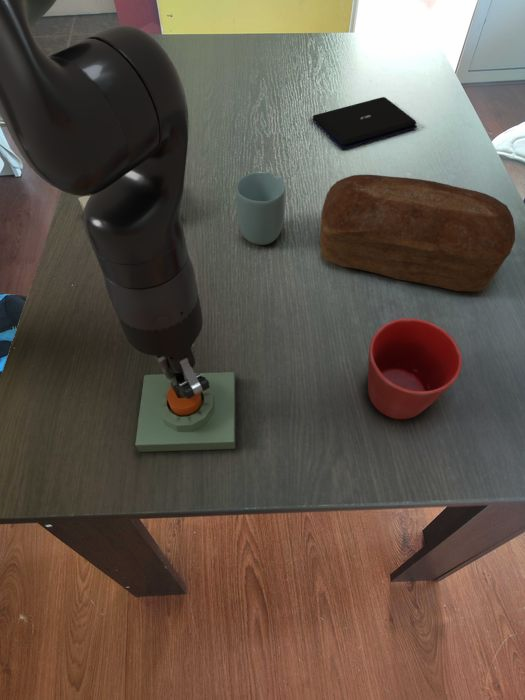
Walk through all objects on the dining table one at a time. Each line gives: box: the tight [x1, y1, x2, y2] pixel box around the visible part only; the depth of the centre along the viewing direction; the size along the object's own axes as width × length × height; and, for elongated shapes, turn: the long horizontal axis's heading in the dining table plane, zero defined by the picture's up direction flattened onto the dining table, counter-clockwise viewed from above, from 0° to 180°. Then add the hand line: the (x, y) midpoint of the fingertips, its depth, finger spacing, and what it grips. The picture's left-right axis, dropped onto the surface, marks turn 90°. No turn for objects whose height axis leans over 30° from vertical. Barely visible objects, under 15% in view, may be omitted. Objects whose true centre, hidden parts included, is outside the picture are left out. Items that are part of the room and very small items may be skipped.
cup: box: [235, 171, 287, 246], centre depth 76 cm, size 8×8×10 cm
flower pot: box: [367, 317, 463, 420], centre depth 58 cm, size 11×11×10 cm
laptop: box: [312, 96, 418, 150], centre depth 99 cm, size 16×20×2 cm
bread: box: [319, 174, 516, 292], centre depth 72 cm, size 14×28×12 cm, turn 73°
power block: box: [134, 371, 236, 453], centre depth 59 cm, size 12×10×4 cm
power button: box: [167, 386, 202, 416], centre depth 57 cm, size 4×4×2 cm
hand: (183, 390), depth 56 cm, fingers closed
